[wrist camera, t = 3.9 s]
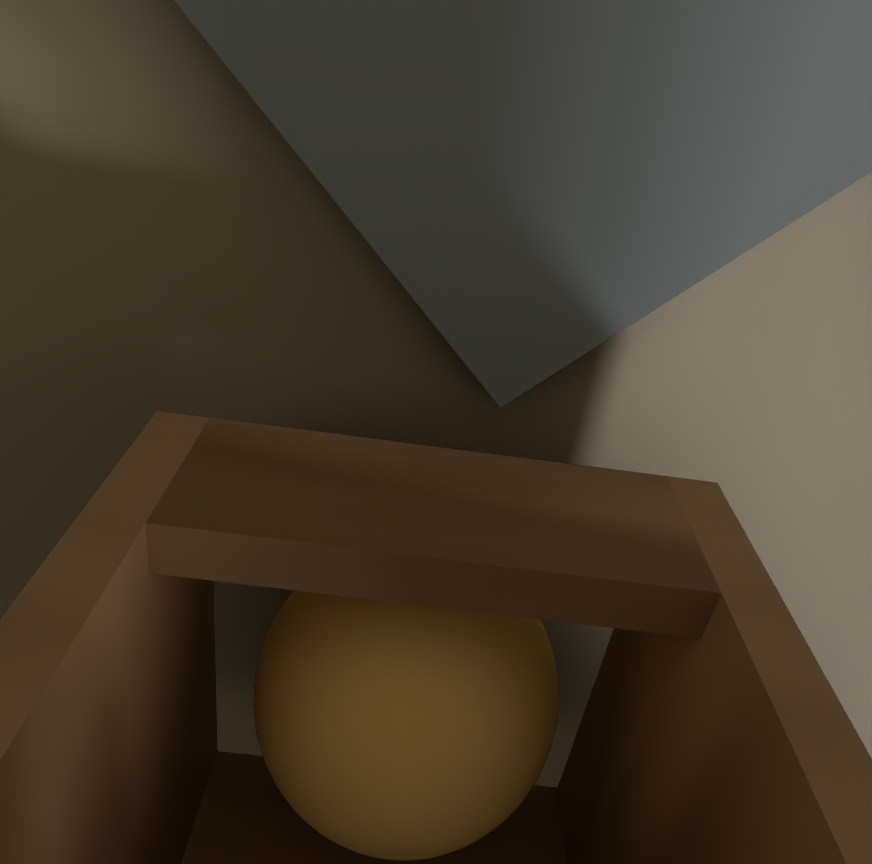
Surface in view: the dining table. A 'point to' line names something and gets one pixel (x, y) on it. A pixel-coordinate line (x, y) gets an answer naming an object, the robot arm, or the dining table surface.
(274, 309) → the dining table surface
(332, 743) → the ball
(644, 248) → the tray mat
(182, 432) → the box
